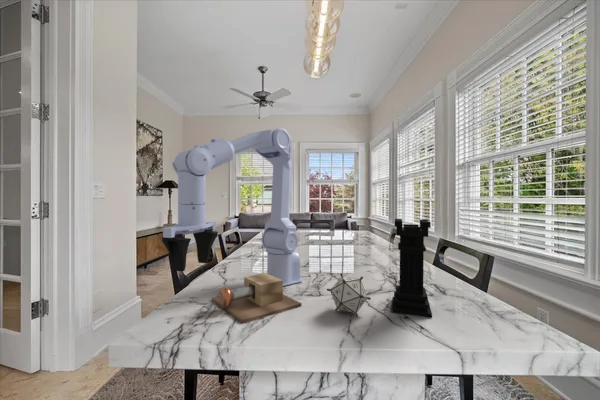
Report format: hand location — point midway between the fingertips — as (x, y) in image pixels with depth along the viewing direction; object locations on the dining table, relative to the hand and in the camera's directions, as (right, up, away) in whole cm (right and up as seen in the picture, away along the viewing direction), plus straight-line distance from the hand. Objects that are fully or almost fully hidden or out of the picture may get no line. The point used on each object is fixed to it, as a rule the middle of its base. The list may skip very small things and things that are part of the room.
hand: (191, 266), depth 62 cm
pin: (+11, -9, +3) cm, 14 cm away
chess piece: (+49, -10, +2) cm, 50 cm away
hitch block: (+13, -10, +5) cm, 17 cm away
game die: (+34, -10, 0) cm, 36 cm away
